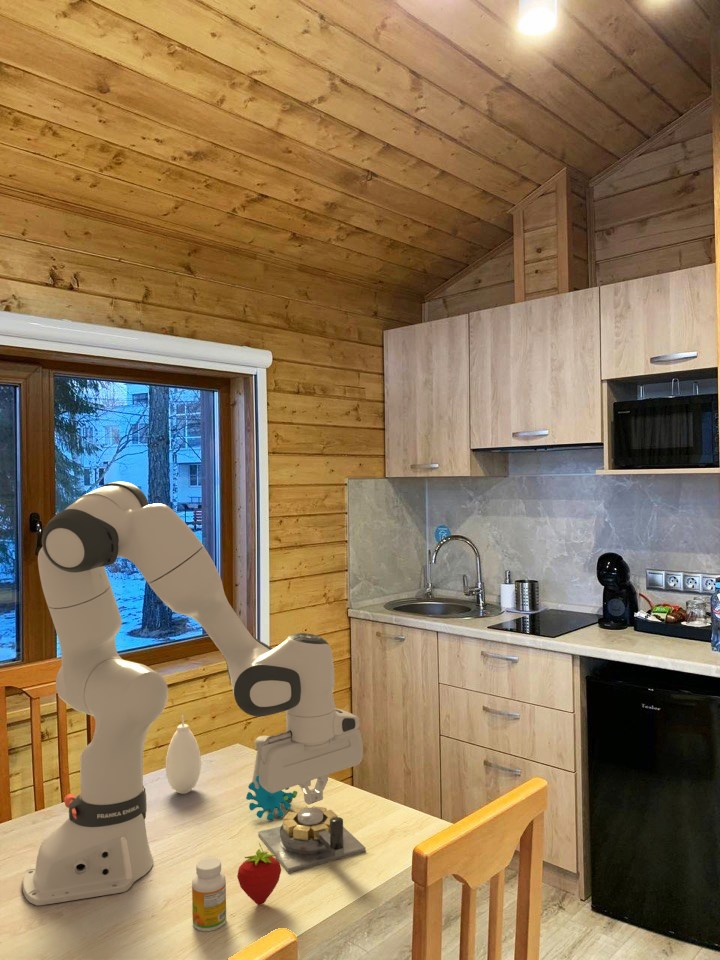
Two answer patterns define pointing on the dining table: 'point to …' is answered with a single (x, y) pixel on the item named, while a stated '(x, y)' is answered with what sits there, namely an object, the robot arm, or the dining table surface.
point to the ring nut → (317, 830)
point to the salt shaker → (258, 758)
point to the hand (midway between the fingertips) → (313, 801)
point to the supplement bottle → (209, 895)
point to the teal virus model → (269, 800)
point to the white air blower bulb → (183, 760)
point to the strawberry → (259, 876)
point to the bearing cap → (306, 844)
